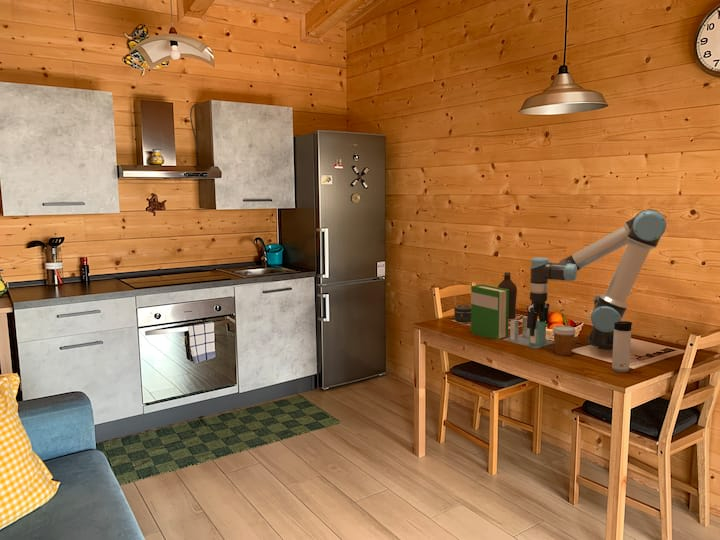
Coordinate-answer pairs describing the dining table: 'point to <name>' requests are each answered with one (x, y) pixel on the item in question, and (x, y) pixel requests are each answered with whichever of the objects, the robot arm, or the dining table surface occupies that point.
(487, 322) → the hardback book
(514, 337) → the post
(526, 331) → the goal post
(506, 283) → the olive oil
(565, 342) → the disposable coffee cup
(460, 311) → the jar
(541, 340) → the grey-green piece
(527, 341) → the board
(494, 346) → the dining table surface
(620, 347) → the travel mug
